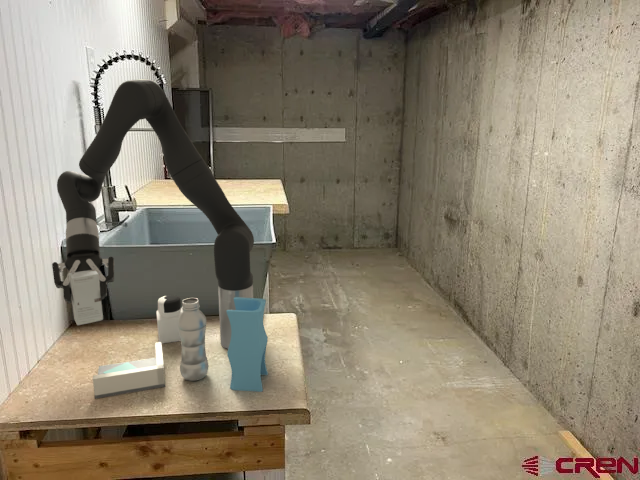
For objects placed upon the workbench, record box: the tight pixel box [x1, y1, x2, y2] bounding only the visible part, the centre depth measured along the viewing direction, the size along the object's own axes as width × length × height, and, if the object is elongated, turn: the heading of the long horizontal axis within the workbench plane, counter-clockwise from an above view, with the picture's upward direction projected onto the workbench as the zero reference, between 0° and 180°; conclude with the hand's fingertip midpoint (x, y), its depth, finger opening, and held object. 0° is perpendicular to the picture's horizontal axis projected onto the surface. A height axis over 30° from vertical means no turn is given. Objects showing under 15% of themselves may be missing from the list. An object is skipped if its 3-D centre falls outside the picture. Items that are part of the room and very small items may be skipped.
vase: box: [226, 297, 269, 393], centre depth 111 cm, size 8×8×20 cm
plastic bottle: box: [178, 297, 210, 382], centre depth 113 cm, size 6×7×20 cm
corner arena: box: [92, 341, 166, 399], centre depth 114 cm, size 15×13×5 cm
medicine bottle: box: [155, 294, 184, 345], centre depth 133 cm, size 7×7×12 cm
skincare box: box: [68, 270, 104, 326], centre depth 115 cm, size 6×4×12 cm
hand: (86, 299), depth 114 cm, fingers closed on skincare box, 6 cm apart
